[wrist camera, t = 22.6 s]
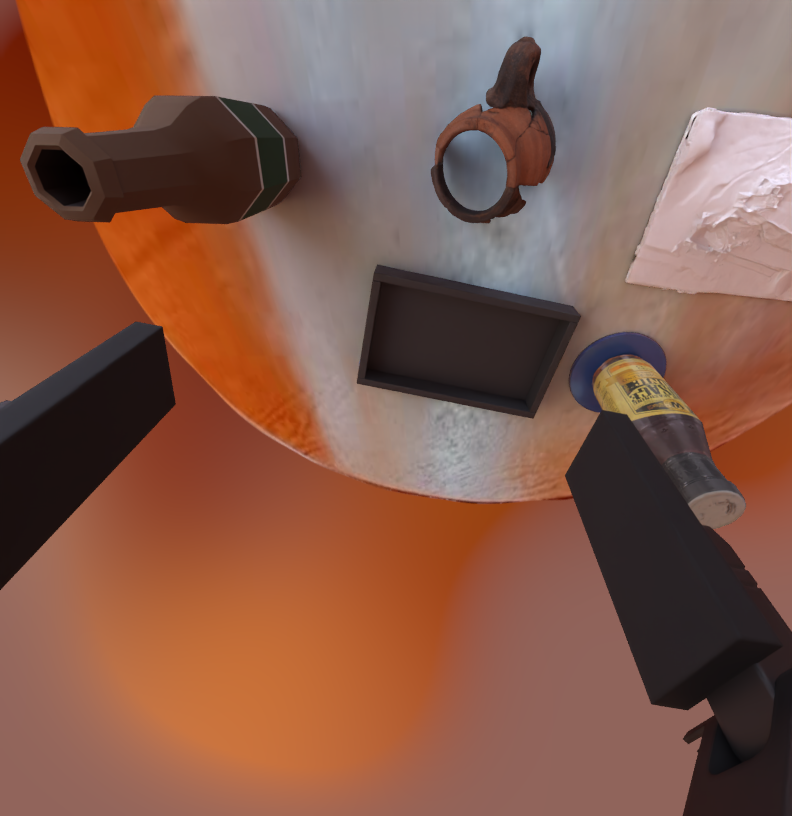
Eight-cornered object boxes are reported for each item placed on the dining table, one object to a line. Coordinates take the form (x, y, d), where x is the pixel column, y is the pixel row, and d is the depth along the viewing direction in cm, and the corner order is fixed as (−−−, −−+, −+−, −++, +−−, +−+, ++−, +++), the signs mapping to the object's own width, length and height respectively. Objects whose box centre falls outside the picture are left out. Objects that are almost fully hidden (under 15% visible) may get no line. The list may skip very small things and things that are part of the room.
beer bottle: (212, 181, 38) (-30, 230, 18) (227, 84, 34) (-65, 7, 14) (292, 219, 39) (149, 302, 19) (315, 129, 35) (165, 118, 15)
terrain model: (664, 110, 34) (694, 105, 29) (988, 94, 31) (1072, 87, 27) (613, 306, 43) (630, 324, 38) (860, 308, 40) (909, 327, 36)
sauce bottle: (659, 355, 44) (797, 488, 27) (632, 403, 47) (740, 547, 31) (599, 345, 44) (702, 473, 27) (576, 394, 47) (655, 534, 30)
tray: (377, 264, 41) (374, 272, 39) (573, 306, 42) (581, 316, 40) (360, 371, 48) (356, 383, 46) (528, 405, 49) (533, 418, 47)
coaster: (592, 323, 43) (594, 325, 42) (682, 342, 43) (685, 344, 43) (554, 401, 48) (555, 404, 48) (634, 417, 49) (637, 420, 48)
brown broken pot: (547, 210, 38) (515, 246, 33) (455, 187, 41) (414, 217, 36) (597, 35, 29) (563, 51, 24) (475, 24, 32) (423, 35, 27)
